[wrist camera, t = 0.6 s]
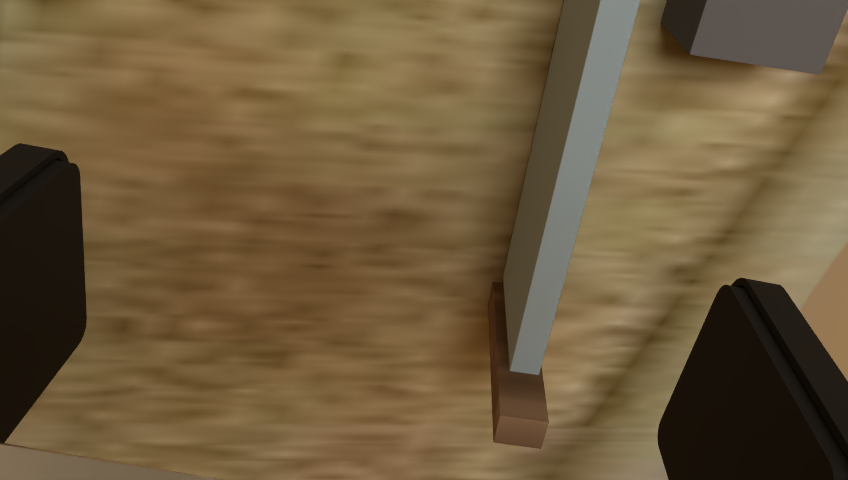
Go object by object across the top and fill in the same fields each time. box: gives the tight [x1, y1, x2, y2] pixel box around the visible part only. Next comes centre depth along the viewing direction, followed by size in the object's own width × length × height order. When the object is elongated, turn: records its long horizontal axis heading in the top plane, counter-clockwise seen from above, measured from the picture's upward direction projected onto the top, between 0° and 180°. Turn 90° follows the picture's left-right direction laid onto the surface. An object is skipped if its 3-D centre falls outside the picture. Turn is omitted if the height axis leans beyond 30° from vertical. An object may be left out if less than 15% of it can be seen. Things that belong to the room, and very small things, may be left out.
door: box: [503, 0, 640, 375], centre depth 36 cm, size 26×2×9 cm, turn 172°
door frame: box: [488, 282, 549, 449], centre depth 35 cm, size 32×2×12 cm, turn 172°
